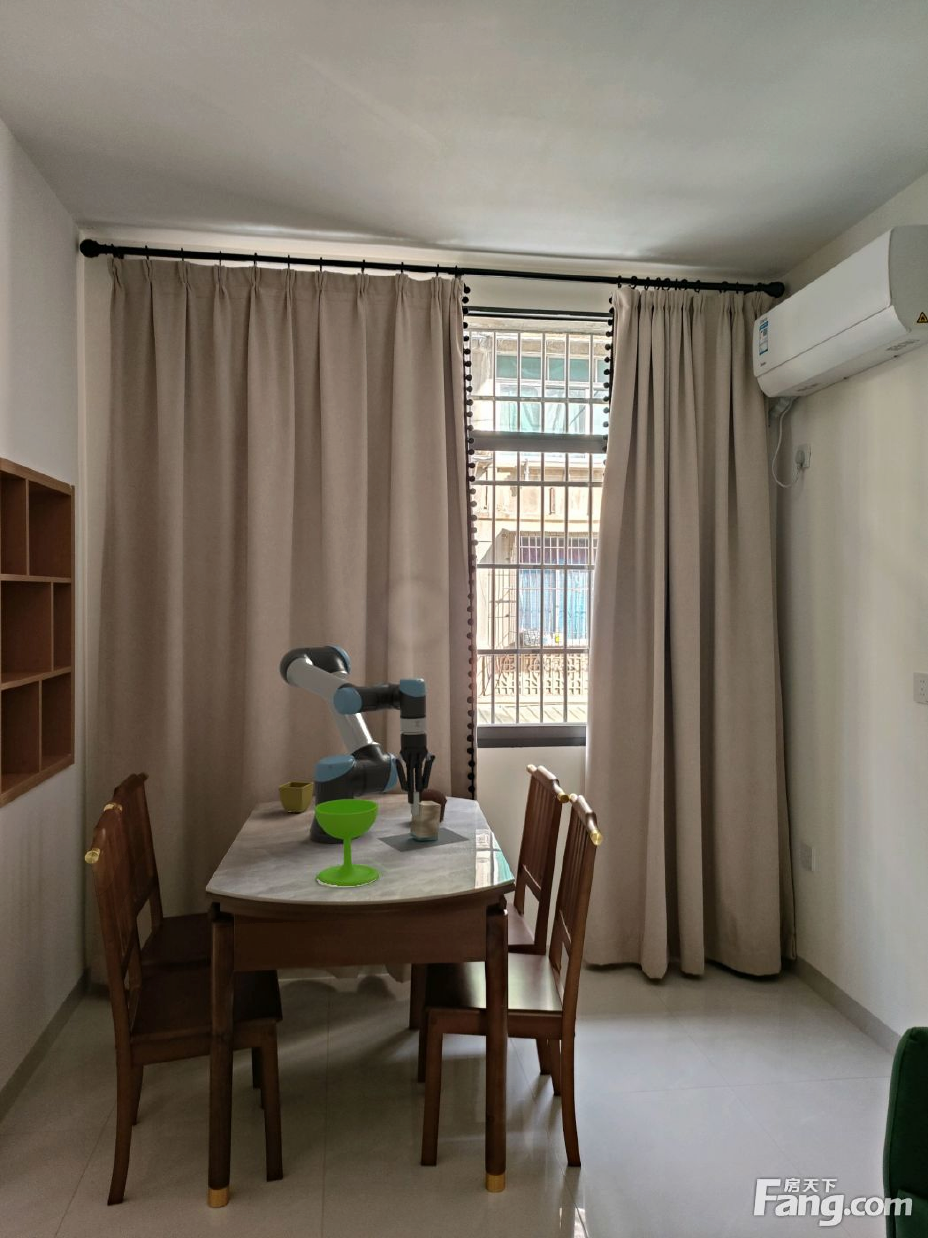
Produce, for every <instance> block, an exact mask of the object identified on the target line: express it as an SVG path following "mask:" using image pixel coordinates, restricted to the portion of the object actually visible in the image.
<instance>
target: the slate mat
mask: <svg viewBox="0 0 928 1238" xmlns="http://www.w3.org/2000/svg"><path fill="white" fill-rule="evenodd" d="M377 839H378V840H380V841H381V842H383V843H384V844H386V845H388V846H390V847H391V848H394V849H395V850H396V851H398V852H401V853H404V852H411V851H414V850H421V849H427V848H432V847H433V848H434V847H438V846H443V845H450V844H456V843H462V842H466V841H471V839H469V838H468V837H465V836H463V835H461V834H459V833H457V832H455V831H453V830H450V829H448V828H446V827H439V832H438V840H417V839H415V838H414V837H412V836H410V832H408V833H401V834H396V835H389V836H383V837H378V838H377Z"/></svg>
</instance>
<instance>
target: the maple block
mask: <svg viewBox="0 0 928 1238" xmlns="http://www.w3.org/2000/svg"><path fill="white" fill-rule="evenodd" d="M440 811H441V805H440V804H437V803H435V802H433V801H422V802H421V803H419V815H417V816H414V815H412V814H411V821H410V832H409V833H410V836H412V837H414V838H415V839H417V840H438V832H439V828H440V823H441V822H440Z"/></svg>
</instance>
